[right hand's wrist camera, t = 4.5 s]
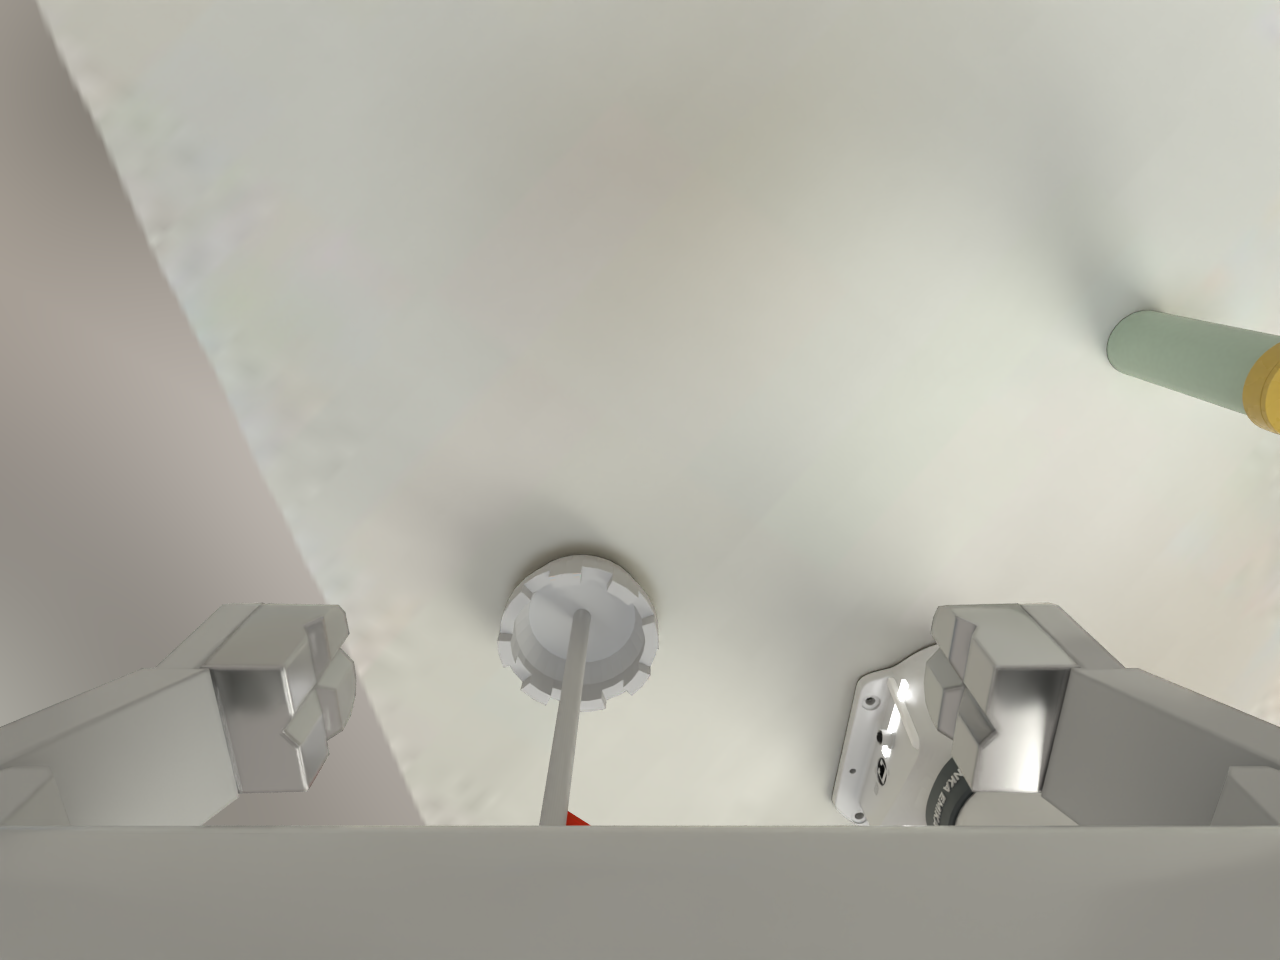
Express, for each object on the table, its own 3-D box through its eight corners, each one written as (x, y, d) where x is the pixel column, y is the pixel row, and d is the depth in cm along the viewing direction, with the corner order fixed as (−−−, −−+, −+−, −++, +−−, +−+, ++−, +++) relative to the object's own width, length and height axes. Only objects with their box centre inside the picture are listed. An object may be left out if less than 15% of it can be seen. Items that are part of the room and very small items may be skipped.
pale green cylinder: (1102, 323, 56) (1264, 363, 42) (1168, 300, 56) (1356, 333, 41) (1111, 383, 58) (1270, 441, 43) (1175, 362, 57) (1358, 414, 43)
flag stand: (495, 656, 66) (388, 988, 38) (525, 527, 62) (428, 794, 34) (636, 687, 67) (633, 1032, 39) (674, 563, 63) (702, 850, 35)
